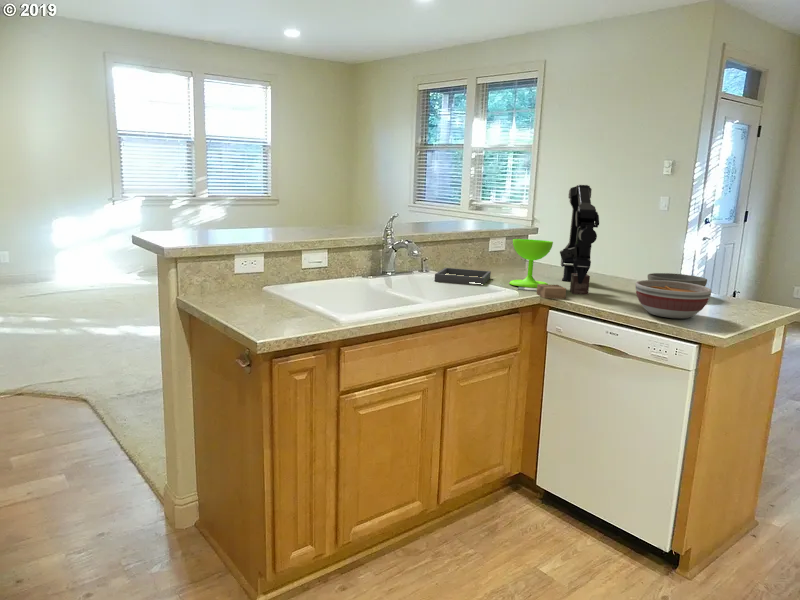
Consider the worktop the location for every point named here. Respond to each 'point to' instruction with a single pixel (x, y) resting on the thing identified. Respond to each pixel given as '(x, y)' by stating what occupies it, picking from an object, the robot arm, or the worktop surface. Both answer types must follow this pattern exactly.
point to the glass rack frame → (464, 279)
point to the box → (579, 288)
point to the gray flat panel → (527, 288)
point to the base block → (551, 291)
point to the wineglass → (530, 258)
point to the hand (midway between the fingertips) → (579, 281)
